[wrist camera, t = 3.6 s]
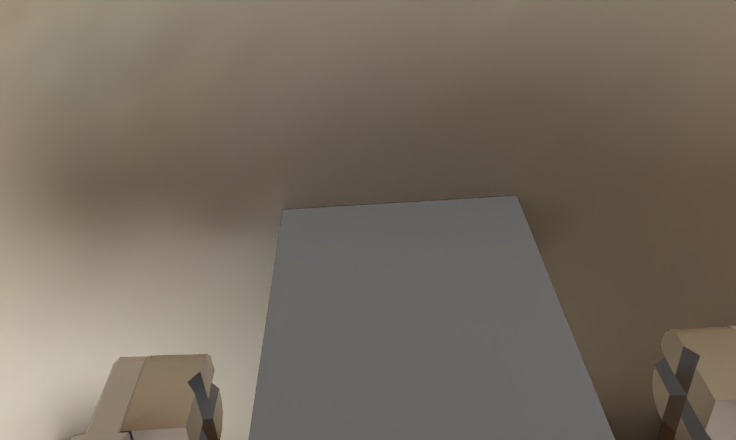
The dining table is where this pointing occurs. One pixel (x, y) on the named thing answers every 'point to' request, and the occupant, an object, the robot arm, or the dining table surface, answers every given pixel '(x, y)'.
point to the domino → (418, 329)
